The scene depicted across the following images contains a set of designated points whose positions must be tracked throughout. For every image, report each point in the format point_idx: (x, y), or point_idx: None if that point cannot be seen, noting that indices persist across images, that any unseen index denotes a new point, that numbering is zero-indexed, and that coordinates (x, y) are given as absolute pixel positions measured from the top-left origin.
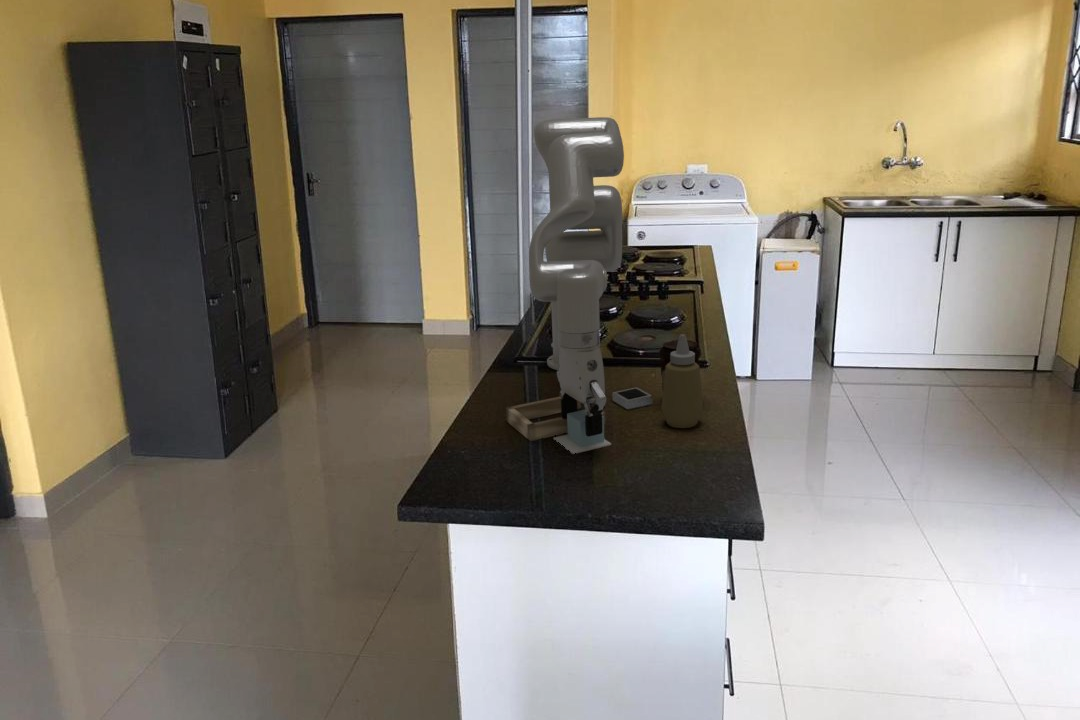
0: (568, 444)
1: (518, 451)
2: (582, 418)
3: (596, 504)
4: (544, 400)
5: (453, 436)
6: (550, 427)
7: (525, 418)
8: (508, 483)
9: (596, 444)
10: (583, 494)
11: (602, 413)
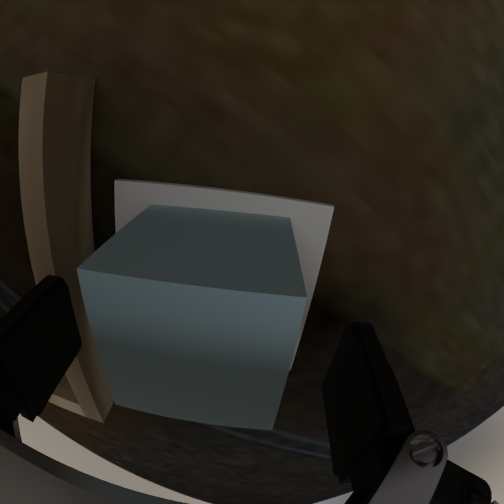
0: None
1: (172, 427)
2: (229, 404)
3: (487, 405)
4: None
5: (56, 428)
6: (92, 358)
7: None
8: (308, 476)
9: None
10: (455, 414)
11: (436, 441)
